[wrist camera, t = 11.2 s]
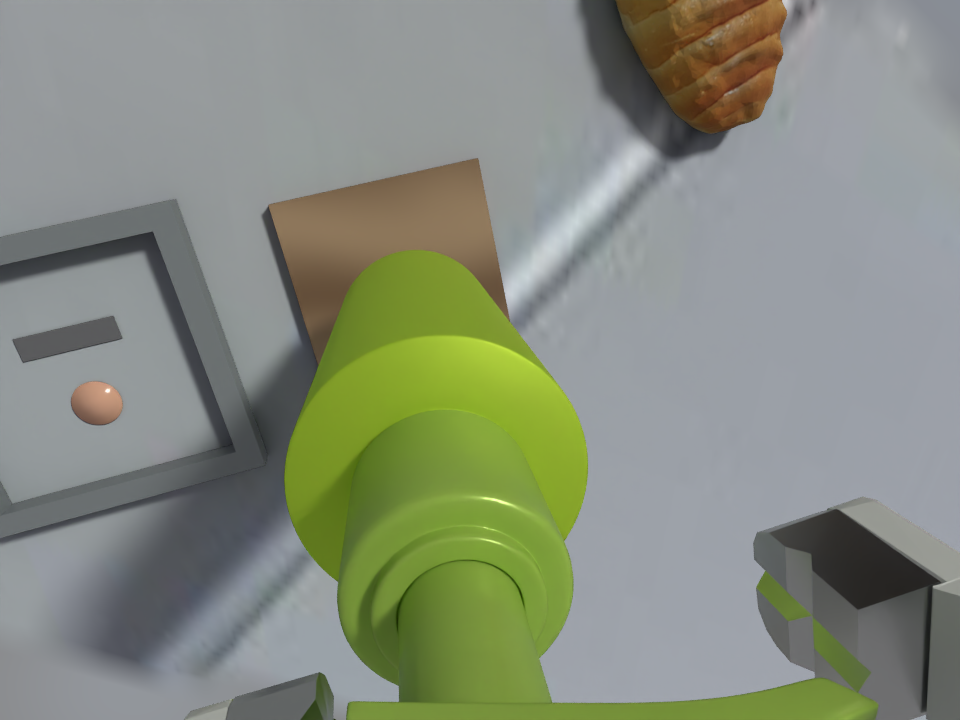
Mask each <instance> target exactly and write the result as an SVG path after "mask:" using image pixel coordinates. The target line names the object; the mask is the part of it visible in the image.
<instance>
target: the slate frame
mask: <svg viewBox="0 0 960 720" xmlns="http://www.w3.org/2000/svg"><path fill="white" fill-rule="evenodd" d="M152 231H153V233H154V236H155V238H156V241H157V244H158V246H159V249H160V252H161V254H162V257H163V259H164V262H165V265H166V267H167V270H168V273H169V275H170V278H171V281H172V283H173V286H174V289H175V291H176V294H177V297H178V299H179V302H180V305H181V307H182V310H183V313H184V315H185V318H186V321H187V323H188V326H189V329H190V331H191V334H192V336H193V339H194V342H195V344H196V347H197V350H198V352H199V355H200V358H201V360H202V363H203V366H204V368H205V371H206V374H207V376H208V379H209V382H210V384H211V387H212V390H213V392H214V395H215V398H216V400H217V403H218V405H219V408H220V411H221V413H222V416H223V419H224V421H225V424H226V427H227V429H228V432H229V435H230V437H231V440H232V443H233V445H230V446H226V447H222V448H219V449H215V450H211V451H207V452H204V453H200V454H196V455H192V456H189V457H185V458H181V459H178V460H174V461H170V462H166V463H163V464H159V465H155V466H152V467H148V468H144V469H140V470H137V471H133V472H129V473H125V474H122V475H118V476H114V477H111V478H107V479H103V480H99V481H96V482H92V483H88V484H84V485H81V486H77V487H73V488H70V489H66V490H62V491H58V492H55V493H51V494H47V495H44V496H40V497H36V498H32V499H29V500H25V501H21V502H17V503H14V504H12V503H11V501H10V499H9V497H8V495H7V493H6V492H5V490H4V488H3V486H2V484H1V482H0V538H3V537H6V536H10V535H13V534H17V533H21V532H24V531H28V530H32V529H35V528H39V527H43V526H46V525H50V524H54V523H57V522H61V521H64V520H68V519H72V518H75V517H79V516H83V515H86V514H90V513H94V512H97V511H101V510H105V509H108V508H112V507H116V506H119V505H123V504H126V503H130V502H134V501H137V500H141V499H145V498H148V497H152V496H156V495H159V494H163V493H167V492H170V491H174V490H177V489H181V488H185V487H188V486H192V485H196V484H199V483H203V482H207V481H210V480H214V479H218V478H221V477H225V476H228V475H232V474H236V473H239V472H243V471H247V470H250V469H254V468H258V467H261V466H265V465H266V461H267V457H268V455H267V452H266V449H265V446H264V443H263V441H262V438H261V435H260V432H259V429H258V427H257V424H256V421H255V418H254V416H253V413H252V410H251V407H250V404H249V402H248V399H247V396H246V393H245V390H244V388H243V385H242V382H241V379H240V376H239V374H238V371H237V368H236V365H235V362H234V360H233V357H232V354H231V351H230V349H229V346H228V343H227V340H226V337H225V335H224V332H223V329H222V326H221V323H220V321H219V318H218V315H217V312H216V309H215V307H214V304H213V301H212V298H211V295H210V293H209V290H208V287H207V284H206V282H205V279H204V276H203V273H202V270H201V268H200V265H199V262H198V259H197V256H196V254H195V251H194V248H193V245H192V242H191V240H190V237H189V234H188V231H187V228H186V226H185V223H184V220H183V217H182V215H181V212H180V209H179V206H178V203H177V201H176V199H173V200H168V201H164V202H159V203H155V204H150V205H145V206H141V207H136V208H132V209H127V210H122V211H118V212H113V213H108V214H104V215H99V216H95V217H90V218H85V219H81V220H76V221H72V222H67V223H62V224H58V225H53V226H49V227H44V228H39V229H35V230H30V231H26V232H21V233H16V234H12V235H7V236H3V237H0V265H4V264H9V263H13V262H18V261H22V260H26V259H31V258H35V257H40V256H44V255H49V254H53V253H58V252H62V251H67V250H71V249H76V248H80V247H85V246H89V245H94V244H98V243H103V242H107V241H112V240H116V239H121V238H125V237H130V236H134V235H139V234H143V233H148V232H152ZM121 338H122V336H121V334H120V331H119V329H118V327H117V324H116V322H115V319H114V317H113V316H110V317H106V318H102V319H98V320H94V321H89V322H85V323H81V324H77V325H72V326H68V327H64V328H60V329H56V330H51V331H47V332H43V333H39V334H35V335H30V336H26V337H22V338H18V339H13V342H14V344H15V346H16V348H17V350H18V352H19V354H20V356H21V358H22V361H23V362H26V361H30V360H34V359H38V358H42V357H47V356H51V355H55V354H59V353H63V352H67V351H71V350H76V349H80V348H84V347H88V346H92V345H96V344H100V343H104V342H109V341H113V340H117V339H121ZM71 404H72V408H73V410H74V412H75V413H76V415H77V416H78V417H79V418H80V419H82V420H83V421H85V422H87V423H90V424H95V425H103V424H107V423H110V422H112V421H114V420H115V419H116V418H117V417H118V416H119V415H120V413H121V411H122V406H123V403H122V399H121V396H120V394H119V393H118V392H117V391H116V390H115V389H114V388H113V387H112V386H110V385H108V384H106V383H102V382H87V383H84V384H82V385H81V386H79V387H78V388H77V389H76V390H75V391H74V393H73V395H72V398H71Z"/></svg>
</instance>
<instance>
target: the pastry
mask: <svg viewBox="0 0 960 720" xmlns="http://www.w3.org/2000/svg"><path fill="white" fill-rule="evenodd" d="M616 4H617V7H618V10H619V13H620V17H621V20H622V23H623V28H624V30H625V32H626V33H627V35H628V37H629V38H630V40H631V42H632V44H633V47H634V49H635V51H636V52H637V54H638V56H639V57H640V60H641V62H642V64H643V65H644V67H645V69H646V70H647V71H648V73H649V75H650V76H651V78H652V79H653V81H654V82H655V84H656V85H657V87H658V89H659V91H660V92H661V94H662V95H663V97H664V98H665V100H666V101H667V103H668V104H669V105H670V107H671V108H672V110H673V112H674V113H675V114H676V115H677V116H678V117H680V118H681V119H682V120H684V121H685V122H686V123H688V124H689V125H690V126H691V127H693V128H695V129H697V130H699V131H702V132H705V133H709V134H713V133H717V132H722V131H726V130H730V129H732V128H734V127H736V126H738V125H741V124H745V123H748V122H751V121H753V120H755V119H757V118H759V117H760V116H761V114H762V112H763V110H764V107H765V103H766V102H767V100H768V98H769V97H770V96H771V94H772V91H773V84H774V79H775V74H776V69H777V65H778V64H779V62H780V61H781V59H782V56H783V48H782V45H781V41H780V32H781V29H782V27H783V24H784V21H785V19H786V16H787V11H786V9H785V7H784V5H783V3H782V0H616Z"/></svg>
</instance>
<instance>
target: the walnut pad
mask: <svg viewBox="0 0 960 720" xmlns="http://www.w3.org/2000/svg"><path fill="white" fill-rule="evenodd" d="M268 206H269V209H270V212H271V215H272V219H273V222H274V225H275V228H276V231H277V235H278V238H279V241H280V244H281V247H282V251H283V254H284V257H285V260H286V264H287V267H288V270H289V273H290V276H291V280H292V283H293V286H294V289H295V293H296V296H297V299H298V302H299V305H300V309H301V312H302V315H303V318H304V322H305V325H306V328H307V331H308V334H309V338H310V341H311V344H312V347H313V350H314V354H315V357H316V360H317V363H318V366H319V363H320V361H321V358H322V356H323V353H324V351H325V348H326V345H327V343H328V340H329V338H330V335H331V332H332V330H333V327H334V325H335V322H336V320H337V317H338V314H339V312H340V309H341V307H342V304H343V301H344V299H345V296H346V294H347V292H348V290H349V288H350V286H351V285H352V283H353V282H354V281H355V279H356V278H357V277H358V276H359V275H360V273H361V272H362V271H364V270H365V269H366V268H367V267H368V266H369V265H371V264H372V263H374V262H375V261H377V260H379V259H381V258H383V257H385V256H387V255H390V254H393V253H396V252H400V251H406V250H426V251H432V252H436V253H440V254H443V255H445V256H448V257H450V258H452V259H454V260H455V261H457V262H459V263H460V264H462V265H463V266H464V267H465V268H467V269H468V270H469V271H470V272H471V273H472V274H473V275H474V276H475V278H476V279H477V280H478V281H479V283H480V284H481V285H482V287H483V288H484V289H485V290H486V292H487V293H488V294H489V296H490V297H491V298H492V299H493V301H494V302H495V303H496V305H497V306H498V307H499V309H500V310H501V311H502V312H503V314H504V315H505V316H506V318H507V319H508V320H509V322H510V319H509V314H508V309H507V304H506V299H505V293H504V288H503V283H502V278H501V273H500V268H499V263H498V258H497V252H496V247H495V242H494V237H493V232H492V227H491V222H490V217H489V212H488V206H487V201H486V196H485V191H484V186H483V181H482V176H481V171H480V165H479V160H478V158H476V159H471V160H467V161H462V162H458V163H453V164H449V165H444V166H440V167H435V168H431V169H426V170H422V171H417V172H413V173H408V174H404V175H399V176H395V177H390V178H386V179H381V180H377V181H373V182H368V183H364V184H359V185H355V186H350V187H346V188H341V189H337V190H332V191H328V192H323V193H319V194H314V195H310V196H305V197H301V198H296V199H292V200H287V201H283V202H278V203H274V204H269V205H268Z"/></svg>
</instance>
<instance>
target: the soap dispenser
mask: <svg viewBox="0 0 960 720" xmlns="http://www.w3.org/2000/svg"><path fill="white" fill-rule="evenodd" d="M587 476H588V456H587V447H586V442H585V437H584V433H583V430H582V427H581V424H580V421H579V418H578V416H577V414H576V412H575V410H574V408H573V406H572V404H571V402H570V401H569V399H568V398H567V396H566V395H565V393H564V392H563V390H562V389H561V388H560V386H559V385H558V384H557V383H556V381H555V380H554V379H553V377H552V376H551V375H550V373H549V372H548V371H547V370H546V368H545V367H544V366H543V364H542V363H541V362H540V360H539V359H538V358H537V357H536V355H535V354H534V353H533V351H532V350H531V349H530V347H529V346H528V345H527V344H526V342H525V341H524V340H523V338H522V337H521V336H520V335H519V333H518V332H517V331H516V329H515V328H514V327H513V325H512V324H511V323H510V322H509V320H508V319H507V318H506V316H505V315H504V314H503V312H502V311H501V310H500V309H499V307H498V306H497V305H496V303H495V302H494V301H493V299H492V298H491V297H490V296H489V294H488V293H487V292H486V290H485V289H484V288H483V287H482V285H481V284H480V283H479V281H478V280H477V279H476V278H475V276H474V275H473V274H472V273H471V272H470V271H469V270H468V269H467V268H465V267H464V266H463V265H462V264H460V263H459V262H457V261H455V260H454V259H452V258H450V257H448V256H445V255H443V254H440V253H436V252H432V251H426V250H406V251H400V252H396V253H393V254H390V255H387V256H385V257H383V258H381V259H379V260H377V261H375V262H374V263H372V264H371V265H369V266H368V267H367V268H366V269H365V270H364V271H362V272H361V273H360V275H359V276H358V277H357V278H356V279H355V281H354V282H353V283H352V285H351V286H350V288H349V290H348V292H347V294H346V296H345V299H344V301H343V304H342V307H341V309H340V312H339V314H338V317H337V320H336V322H335V325H334V327H333V330H332V332H331V335H330V338H329V340H328V343H327V345H326V348H325V351H324V353H323V356H322V358H321V361H320V363H319V366H318V369H317V371H316V374H315V376H314V379H313V382H312V384H311V387H310V389H309V392H308V394H307V397H306V400H305V402H304V405H303V407H302V410H301V413H300V415H299V418H298V420H297V423H296V426H295V428H294V431H293V433H292V436H291V439H290V443H289V446H288V450H287V455H286V462H285V472H284V486H285V496H286V502H287V507H288V511H289V514H290V517H291V520H292V523H293V526H294V528H295V530H296V533H297V535H298V536H299V538H300V540H301V542H302V544H303V545H304V547H305V548H306V550H307V551H308V553H309V554H310V555H311V556H312V558H313V559H314V560H315V561H316V562H317V564H318V565H319V566H320V567H321V568H322V569H323V570H324V571H325V572H327V573H328V574H329V575H330V576H331V577H332V578H334V579H335V580H336V581H338V590H337V604H338V612H339V618H340V622H341V626H342V629H343V632H344V635H345V637H346V639H347V641H348V643H349V645H350V646H351V648H352V649H353V651H354V652H355V653H356V655H357V656H358V657H359V658H360V660H361V661H362V662H363V663H364V664H365V665H366V666H368V667H369V668H370V669H371V670H372V671H374V672H375V673H376V674H378V675H379V676H381V677H382V678H384V679H386V680H388V681H390V682H392V683H394V684H396V685H398V686H399V702H360V701H357V702H349V703H348V706H347V715H346V720H875V719H876V715H877V711H878V706H879V705H878V703H877V702H875V701H874V700H872V699H870V698H867V697H865V696H863V695H861V694H859V693H857V692H855V691H853V690H851V689H849V688H846V687H844V686H842V685H840V684H837V683H835V682H833V681H831V680H829V679H826V678H814V679H809V680H805V681H801V682H797V683H793V684H789V685H785V686H781V687H777V688H773V689H768V690H763V691H758V692H753V693H748V694H742V695H735V696H728V697H721V698H712V699H702V700H690V701H675V702H649V703H552V700H551V697H550V693H549V690H548V687H547V683H546V680H545V677H544V673H543V670H542V666H541V663H540V660H539V658H540V657H541V656H542V655H543V654H544V653H545V652H546V651H547V649H548V648H549V647H550V646H551V645H552V643H553V642H554V641H555V639H556V638H557V636H558V635H559V633H560V631H561V630H562V628H563V626H564V624H565V621H566V619H567V616H568V614H569V611H570V607H571V603H572V597H573V571H572V565H571V560H570V556H569V553H568V550H567V548H566V545H565V543H564V541H565V539H566V538H567V536H568V534H569V533H570V531H571V529H572V527H573V525H574V523H575V521H576V519H577V517H578V514H579V512H580V509H581V506H582V503H583V499H584V495H585V491H586V485H587Z"/></svg>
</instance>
